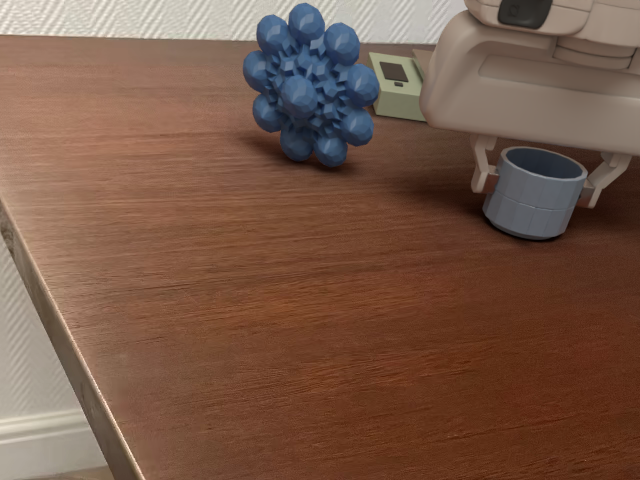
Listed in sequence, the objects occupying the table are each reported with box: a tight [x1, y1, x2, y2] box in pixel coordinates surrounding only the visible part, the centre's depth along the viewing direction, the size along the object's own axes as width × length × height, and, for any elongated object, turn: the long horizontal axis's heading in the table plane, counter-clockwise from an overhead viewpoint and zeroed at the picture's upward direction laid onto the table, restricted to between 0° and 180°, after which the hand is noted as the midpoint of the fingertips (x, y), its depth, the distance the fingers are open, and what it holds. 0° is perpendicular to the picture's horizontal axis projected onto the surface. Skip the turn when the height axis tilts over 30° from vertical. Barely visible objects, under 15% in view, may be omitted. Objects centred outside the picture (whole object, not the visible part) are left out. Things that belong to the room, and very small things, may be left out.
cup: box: [481, 145, 589, 241], centre depth 62 cm, size 6×6×5 cm
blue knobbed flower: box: [242, 2, 380, 168], centre depth 64 cm, size 12×7×12 cm, turn 67°
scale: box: [365, 51, 427, 123], centre depth 86 cm, size 17×14×3 cm
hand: (530, 197), depth 62 cm, fingers closed on cup, 6 cm apart
